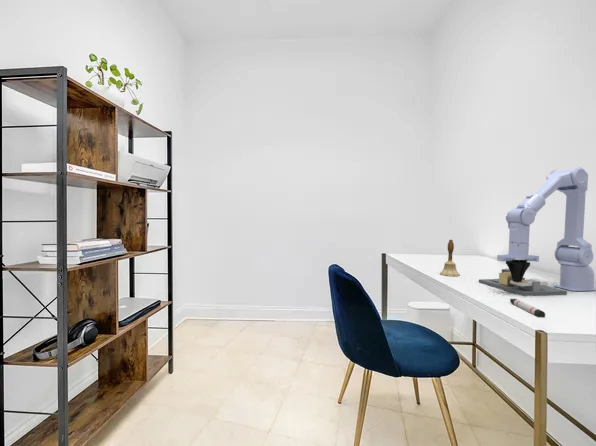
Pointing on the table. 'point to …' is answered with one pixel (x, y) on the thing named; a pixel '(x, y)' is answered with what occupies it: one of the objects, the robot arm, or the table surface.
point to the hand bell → (450, 263)
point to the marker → (527, 308)
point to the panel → (525, 288)
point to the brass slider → (505, 279)
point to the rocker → (528, 282)
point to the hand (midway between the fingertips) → (517, 281)
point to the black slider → (505, 270)
